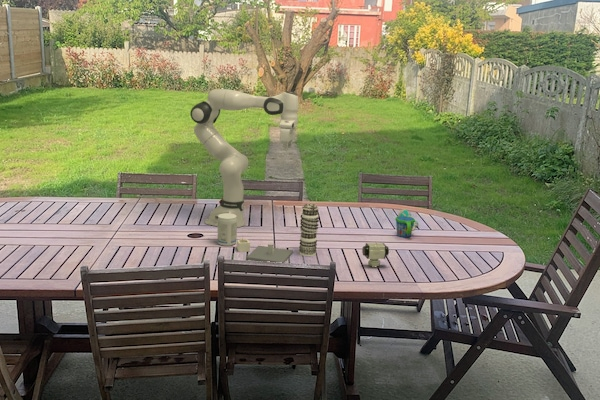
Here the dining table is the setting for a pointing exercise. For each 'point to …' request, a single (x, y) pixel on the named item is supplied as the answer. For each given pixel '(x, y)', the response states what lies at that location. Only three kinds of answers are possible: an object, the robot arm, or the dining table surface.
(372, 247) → the pneumatic valve
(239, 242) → the cream open box
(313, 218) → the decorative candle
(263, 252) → the grey square panel
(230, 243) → the supplement tub
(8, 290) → the dining table surface
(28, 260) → the dining table surface
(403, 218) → the snack cup
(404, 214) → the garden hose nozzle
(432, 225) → the dining table surface
